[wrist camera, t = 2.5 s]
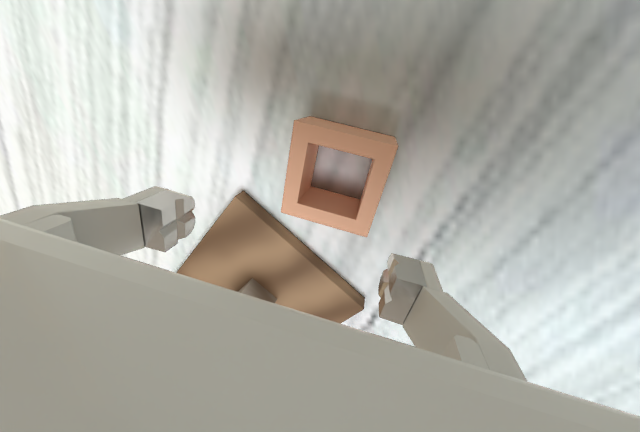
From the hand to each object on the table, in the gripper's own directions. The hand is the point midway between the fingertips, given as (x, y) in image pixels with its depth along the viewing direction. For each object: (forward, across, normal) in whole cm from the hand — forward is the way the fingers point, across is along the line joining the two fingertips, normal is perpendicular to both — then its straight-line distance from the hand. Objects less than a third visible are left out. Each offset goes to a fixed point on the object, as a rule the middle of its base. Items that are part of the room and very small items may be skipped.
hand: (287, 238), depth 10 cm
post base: (+12, +4, +15) cm, 20 cm away
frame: (+12, -1, 0) cm, 12 cm away
